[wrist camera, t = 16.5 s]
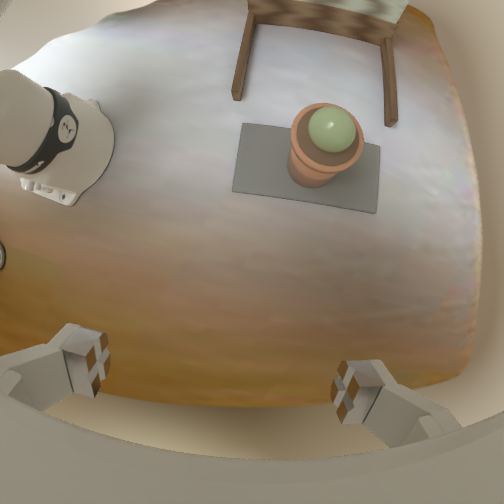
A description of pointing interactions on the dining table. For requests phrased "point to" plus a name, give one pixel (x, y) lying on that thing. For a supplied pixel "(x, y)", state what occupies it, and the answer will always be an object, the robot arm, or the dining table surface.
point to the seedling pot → (323, 144)
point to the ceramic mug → (2, 256)
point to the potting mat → (283, 186)
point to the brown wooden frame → (331, 21)
